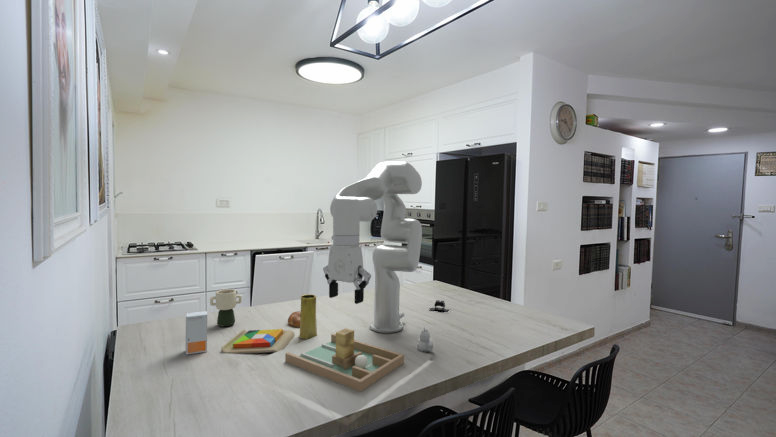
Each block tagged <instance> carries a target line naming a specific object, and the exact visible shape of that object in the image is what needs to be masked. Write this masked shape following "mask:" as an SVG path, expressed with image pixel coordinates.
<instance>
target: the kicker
mask: <svg viewBox="0 0 776 437" xmlns="http://www.w3.org/2000/svg"><path fill="white" fill-rule="evenodd" d="M335 334H336V354H335V355H333V356H332V363H334V364H336V365H339V366H342V367H343V369H345V370H346V369H348V368H350V367H352V366H353V365H355V359H356V357H357V356H359V355H362V352H358V353H356V354H355V353H354V340H355V330H354V329H350V328H347V327H345V328H343V329H341V330H338V331H336V332H335Z"/></svg>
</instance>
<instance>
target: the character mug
mask: <svg viewBox="0 0 776 437" xmlns="http://www.w3.org/2000/svg"><path fill="white" fill-rule="evenodd" d="M237 298H238V300H237ZM242 298H243V297H242V294H237V290H236V289H232V288H231V289H229V288H227V289H226V288H225V289H220V290H217V291H216V292H215V296H211V297H210V299H209V304H210V306H211V307H216V309H217V310H218V314H217V319H216V320H217V322H216V324H217V325H218V326H220V327H227V326H231V325H234V324H235V322H236V317H235V311H234V309H235V308H236V306H237V304H242V300H243V299H242ZM214 300H215V302H214Z"/></svg>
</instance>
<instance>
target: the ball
mask: <svg viewBox="0 0 776 437" xmlns="http://www.w3.org/2000/svg"><path fill="white" fill-rule="evenodd" d="M367 363H368V360H367V358H366V356H364V355H359V356H357V357H356V359H355V365H356V366H357V367H360V368H365V367H366V366H367Z"/></svg>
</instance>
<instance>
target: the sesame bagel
mask: <svg viewBox="0 0 776 437" xmlns="http://www.w3.org/2000/svg"><path fill="white" fill-rule="evenodd" d="M300 318H301V310H299V311H297V310H296V311H294V312H291V314H289V316H288V318H287V323H288V325H289V326H291V327H294V328H300Z"/></svg>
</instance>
